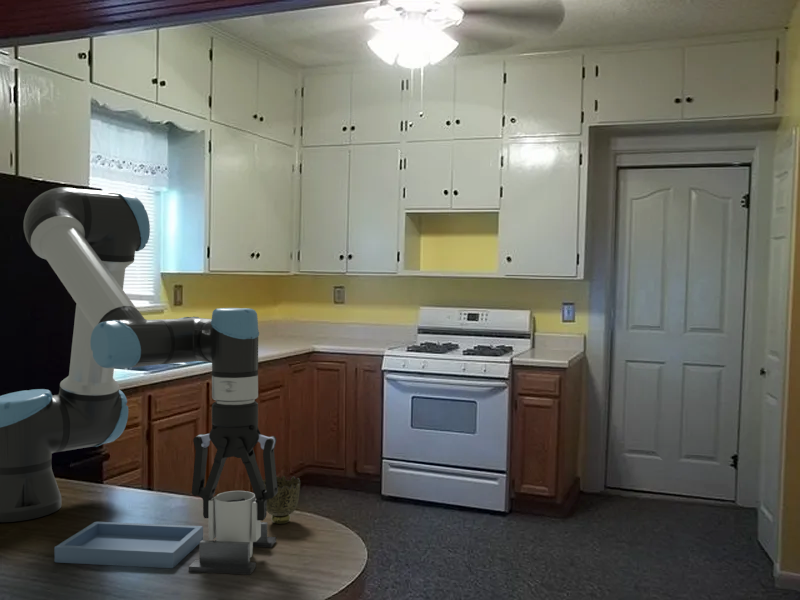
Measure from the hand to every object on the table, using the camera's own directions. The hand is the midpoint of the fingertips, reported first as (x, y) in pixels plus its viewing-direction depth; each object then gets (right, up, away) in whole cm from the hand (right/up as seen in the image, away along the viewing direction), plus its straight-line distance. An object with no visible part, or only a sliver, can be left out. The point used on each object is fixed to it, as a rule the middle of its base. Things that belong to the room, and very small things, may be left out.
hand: (234, 537), depth 125 cm
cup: (+5, -3, +18) cm, 19 cm away
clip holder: (0, -3, 0) cm, 3 cm away
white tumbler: (0, -3, 0) cm, 3 cm away
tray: (-18, -3, +2) cm, 18 cm away
